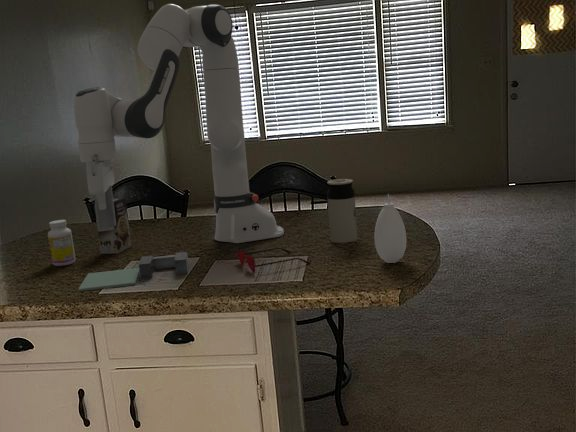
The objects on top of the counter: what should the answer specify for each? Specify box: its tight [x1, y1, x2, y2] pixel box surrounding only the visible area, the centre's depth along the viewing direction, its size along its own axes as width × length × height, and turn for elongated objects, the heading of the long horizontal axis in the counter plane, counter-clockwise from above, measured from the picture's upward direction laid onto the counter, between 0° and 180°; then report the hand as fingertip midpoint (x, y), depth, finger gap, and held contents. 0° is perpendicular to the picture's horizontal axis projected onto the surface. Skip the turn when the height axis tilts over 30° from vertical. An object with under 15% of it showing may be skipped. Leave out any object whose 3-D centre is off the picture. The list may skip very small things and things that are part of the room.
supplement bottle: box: [47, 219, 77, 267], centre depth 182 cm, size 7×7×13 cm
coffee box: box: [94, 197, 132, 255], centre depth 193 cm, size 9×6×16 cm
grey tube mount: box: [138, 251, 189, 280], centre depth 165 cm, size 12×10×4 cm
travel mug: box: [326, 178, 358, 244], centre depth 181 cm, size 8×8×18 cm
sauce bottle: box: [373, 193, 407, 264], centre depth 155 cm, size 8×8×18 cm
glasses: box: [234, 247, 312, 274], centre depth 164 cm, size 14×16×5 cm
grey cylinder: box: [93, 185, 116, 228], centre depth 158 cm, size 4×4×10 cm
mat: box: [77, 267, 140, 292], centre depth 162 cm, size 14×14×1 cm
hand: (105, 207), depth 158 cm, fingers closed on grey cylinder, 4 cm apart
